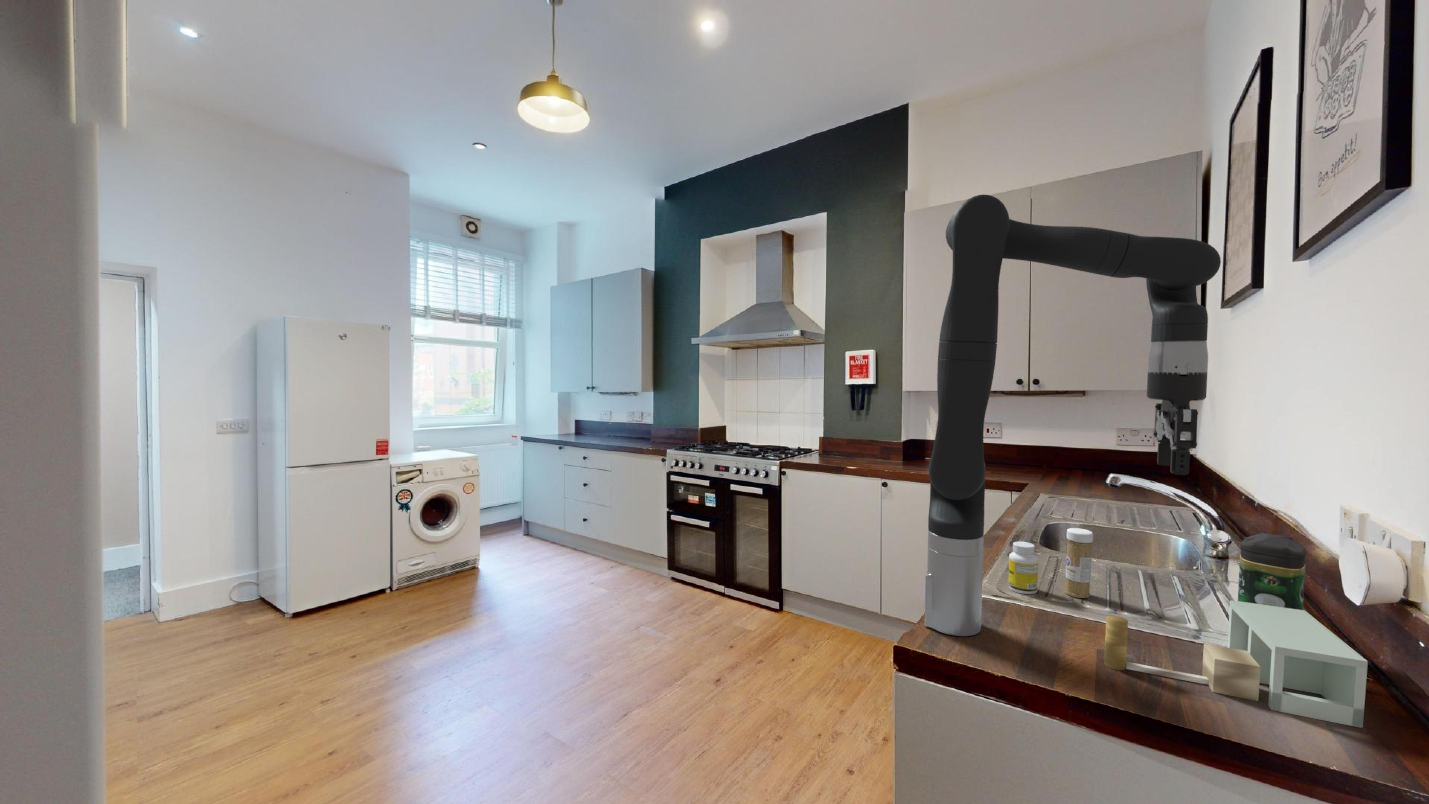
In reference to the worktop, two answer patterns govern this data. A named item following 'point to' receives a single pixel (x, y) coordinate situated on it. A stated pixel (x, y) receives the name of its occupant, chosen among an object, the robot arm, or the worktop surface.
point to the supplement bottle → (1023, 568)
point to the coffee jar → (1272, 571)
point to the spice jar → (1078, 562)
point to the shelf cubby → (1301, 662)
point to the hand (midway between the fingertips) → (1172, 469)
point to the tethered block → (1220, 672)
